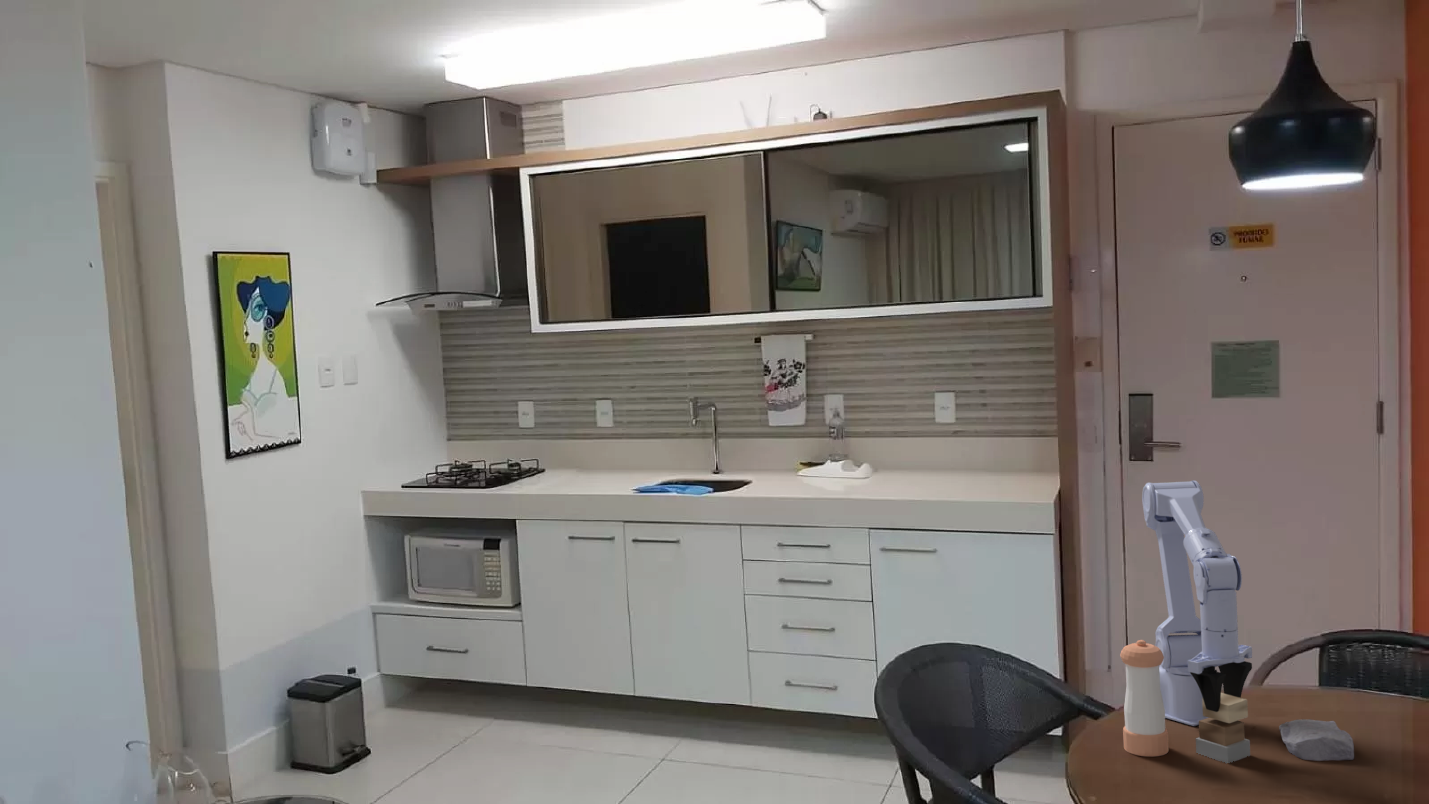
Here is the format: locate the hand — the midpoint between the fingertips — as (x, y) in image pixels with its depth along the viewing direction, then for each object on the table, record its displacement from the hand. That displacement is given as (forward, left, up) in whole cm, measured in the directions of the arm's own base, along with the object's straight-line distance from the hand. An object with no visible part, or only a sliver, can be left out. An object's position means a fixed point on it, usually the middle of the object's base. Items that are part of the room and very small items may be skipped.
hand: (1222, 706), depth 189 cm
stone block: (+8, +13, -8) cm, 17 cm away
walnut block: (0, -1, -5) cm, 5 cm away
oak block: (0, 0, -2) cm, 2 cm away
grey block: (0, -1, -8) cm, 8 cm away
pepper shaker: (-9, -8, -8) cm, 15 cm away
